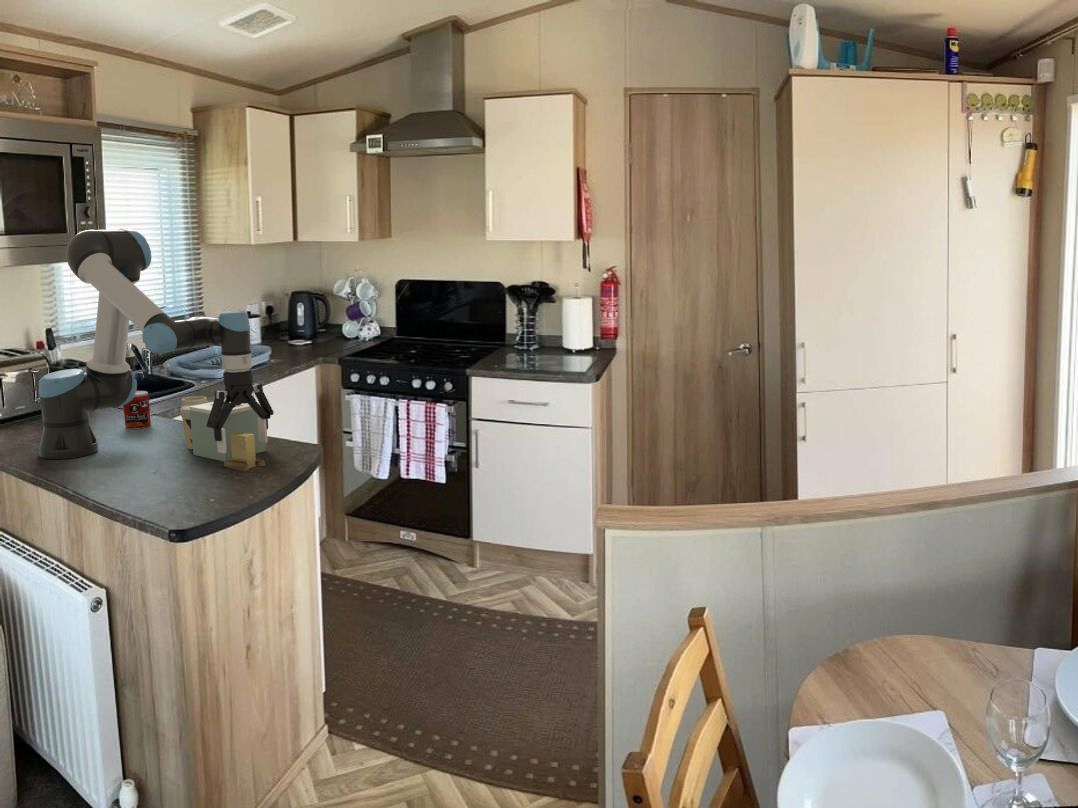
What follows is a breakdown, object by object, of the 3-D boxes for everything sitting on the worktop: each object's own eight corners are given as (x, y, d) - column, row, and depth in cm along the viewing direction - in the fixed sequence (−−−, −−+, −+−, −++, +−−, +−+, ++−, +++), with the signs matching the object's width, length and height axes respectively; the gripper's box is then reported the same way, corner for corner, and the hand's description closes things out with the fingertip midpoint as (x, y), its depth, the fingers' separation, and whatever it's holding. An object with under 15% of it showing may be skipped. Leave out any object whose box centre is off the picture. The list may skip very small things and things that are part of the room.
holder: (243, 471, 244) (243, 465, 243) (224, 466, 248) (223, 461, 248) (264, 465, 249) (264, 459, 249) (245, 460, 254) (244, 455, 253)
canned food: (123, 429, 291) (120, 396, 289) (127, 424, 299) (124, 391, 296) (149, 428, 293) (146, 394, 291) (152, 422, 301) (149, 390, 298)
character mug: (192, 445, 270) (189, 401, 268) (174, 443, 273) (171, 400, 271) (219, 437, 280) (216, 396, 278) (201, 436, 283) (198, 394, 281)
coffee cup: (185, 452, 264) (182, 411, 261) (182, 444, 272) (179, 405, 269) (219, 448, 268) (216, 408, 265) (215, 441, 276) (212, 402, 273)
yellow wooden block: (247, 469, 246) (245, 436, 244) (232, 465, 249) (230, 433, 247) (256, 466, 248) (254, 434, 246) (241, 463, 251) (239, 431, 250)
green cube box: (225, 461, 253) (221, 412, 250) (193, 454, 260) (189, 406, 258) (265, 450, 264) (262, 403, 262) (233, 444, 272) (230, 398, 269)
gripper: (206, 377, 231) (213, 459, 235) (283, 364, 251) (288, 439, 256) (188, 375, 235) (194, 455, 239) (265, 362, 255) (270, 435, 260)
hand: (243, 447), depth 248 cm, fingers open, 13 cm apart
